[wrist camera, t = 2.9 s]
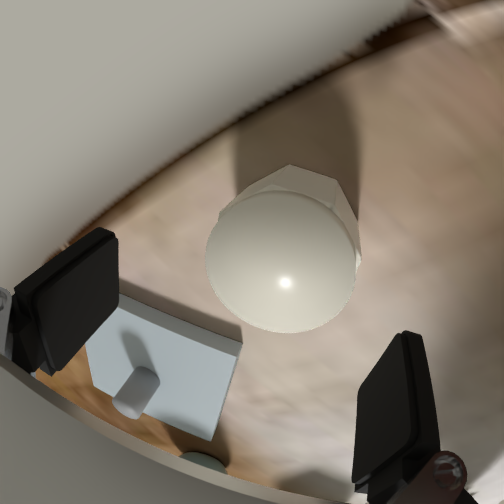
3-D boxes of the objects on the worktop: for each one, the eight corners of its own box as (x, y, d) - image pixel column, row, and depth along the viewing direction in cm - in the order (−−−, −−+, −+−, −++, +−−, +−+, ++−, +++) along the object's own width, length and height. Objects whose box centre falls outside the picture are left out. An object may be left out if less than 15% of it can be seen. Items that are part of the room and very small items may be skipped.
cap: (369, 191, 16) (380, 228, 11) (331, 288, 19) (323, 349, 15) (255, 154, 17) (219, 176, 12) (231, 254, 20) (196, 304, 15)
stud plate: (242, 343, 23) (217, 399, 18) (215, 430, 30) (196, 472, 25) (87, 278, 25) (45, 313, 20) (100, 377, 32) (74, 410, 27)
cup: (175, 436, 33) (140, 502, 24) (238, 457, 32) (210, 529, 23) (179, 461, 37) (150, 517, 28) (233, 479, 35) (209, 539, 27)
